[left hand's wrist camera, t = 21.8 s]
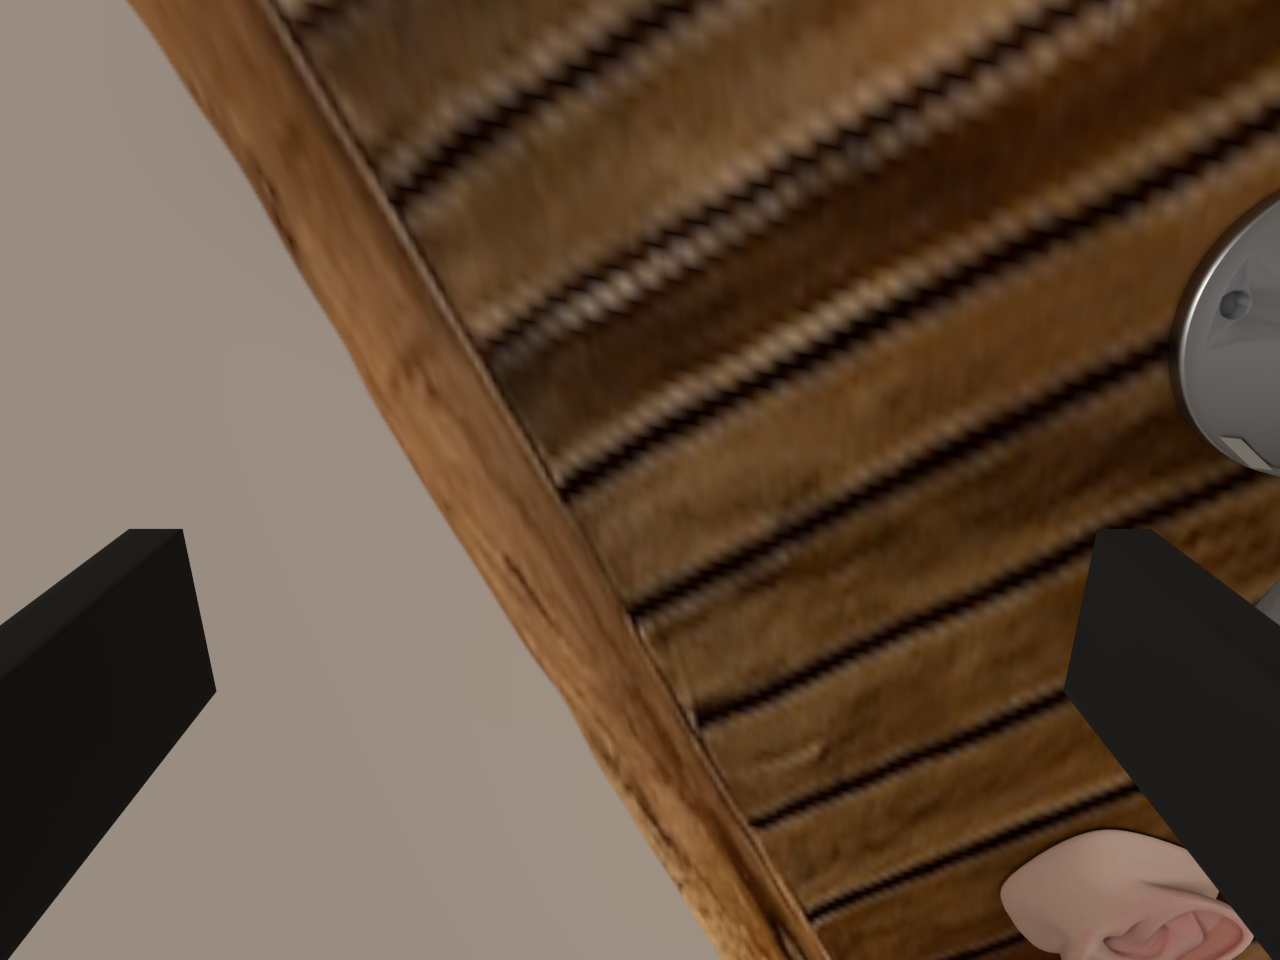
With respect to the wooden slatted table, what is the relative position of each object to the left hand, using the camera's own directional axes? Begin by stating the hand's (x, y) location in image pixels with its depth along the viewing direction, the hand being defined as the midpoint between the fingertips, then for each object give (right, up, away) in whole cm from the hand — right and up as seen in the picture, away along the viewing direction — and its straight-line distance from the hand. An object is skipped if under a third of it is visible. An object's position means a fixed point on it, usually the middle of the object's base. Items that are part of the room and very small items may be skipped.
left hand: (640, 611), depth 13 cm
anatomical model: (+31, -25, +44) cm, 60 cm away
